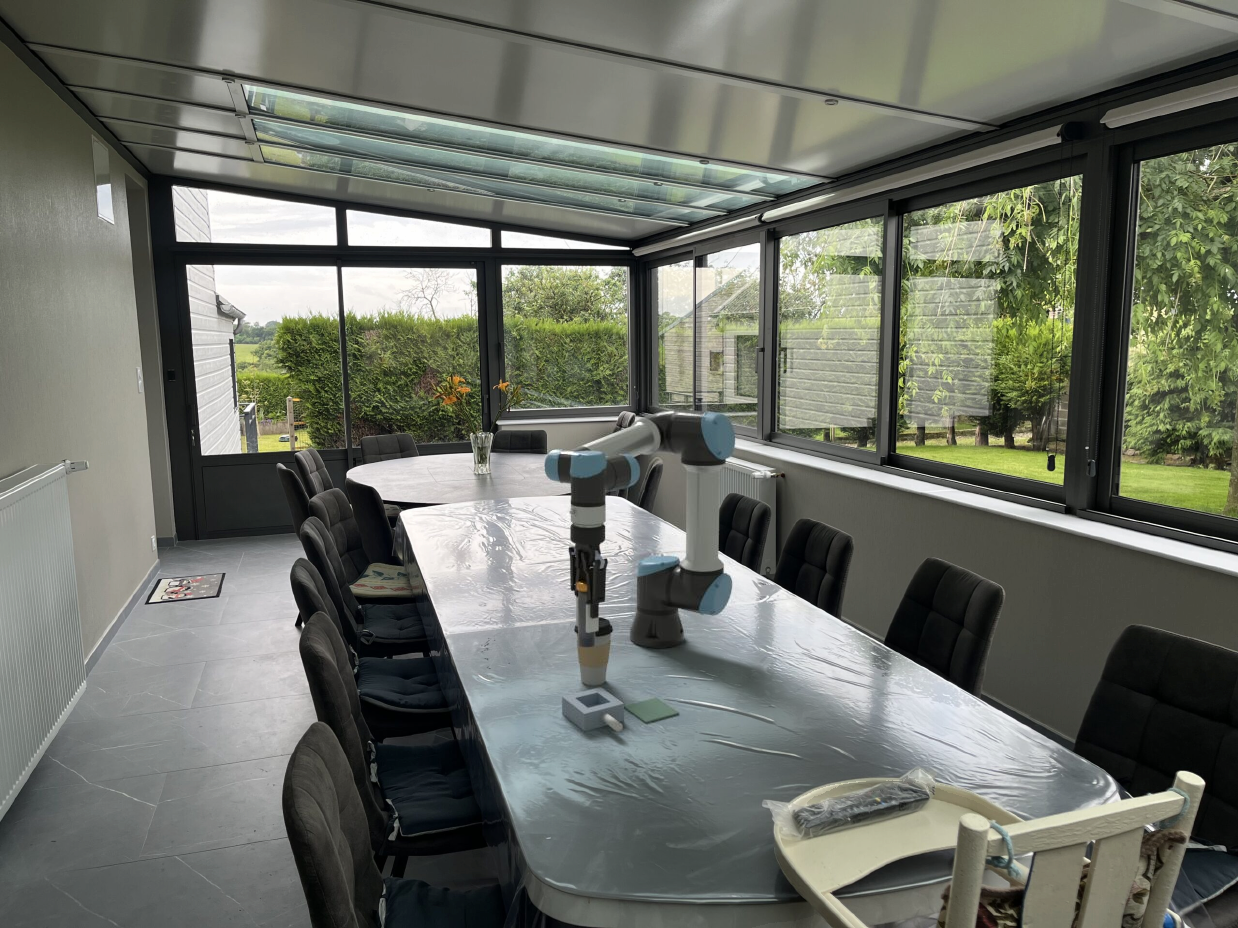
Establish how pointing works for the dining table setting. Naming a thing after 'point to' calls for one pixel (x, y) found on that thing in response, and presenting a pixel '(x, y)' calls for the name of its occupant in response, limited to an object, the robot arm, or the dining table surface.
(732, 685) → the dining table surface
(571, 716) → the block
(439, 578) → the dining table surface
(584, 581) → the orange capped tube
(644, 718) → the pad
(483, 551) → the dining table surface
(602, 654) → the coffee cup
